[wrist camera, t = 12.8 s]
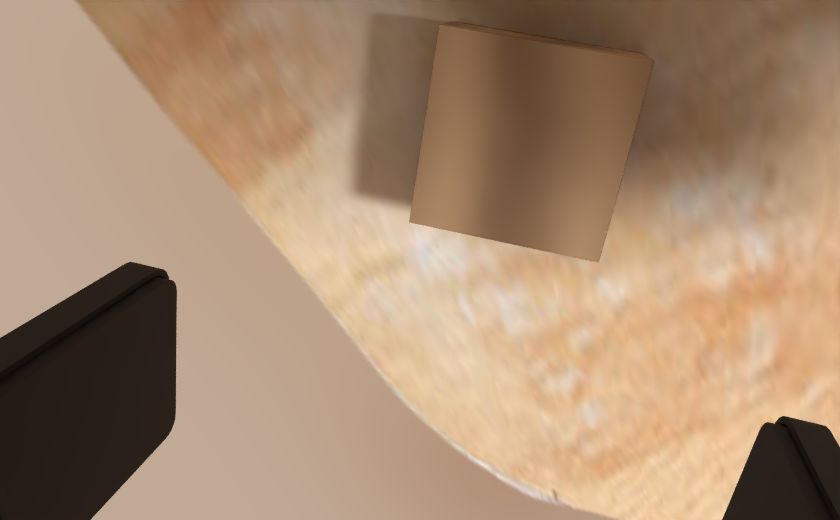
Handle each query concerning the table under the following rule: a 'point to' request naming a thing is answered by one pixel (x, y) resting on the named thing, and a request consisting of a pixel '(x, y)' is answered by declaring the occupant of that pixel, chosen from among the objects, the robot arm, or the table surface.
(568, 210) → the tower base
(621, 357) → the table surface
